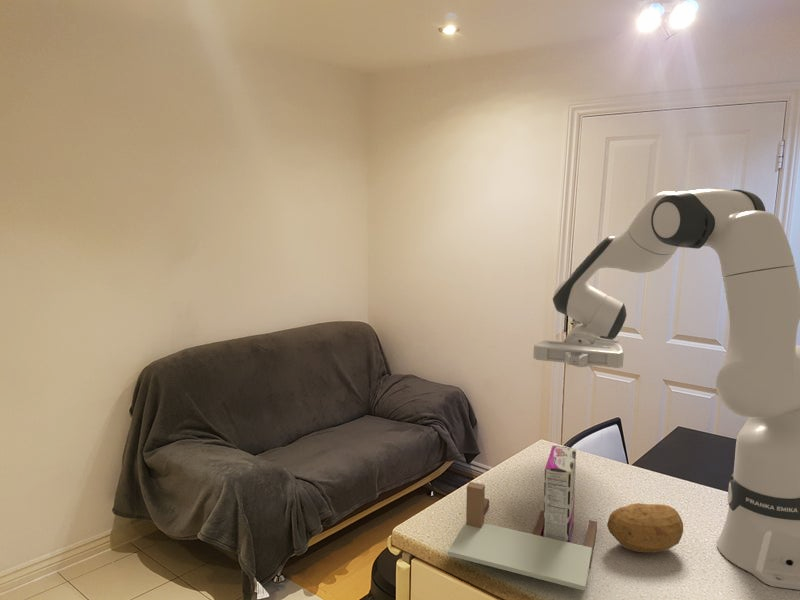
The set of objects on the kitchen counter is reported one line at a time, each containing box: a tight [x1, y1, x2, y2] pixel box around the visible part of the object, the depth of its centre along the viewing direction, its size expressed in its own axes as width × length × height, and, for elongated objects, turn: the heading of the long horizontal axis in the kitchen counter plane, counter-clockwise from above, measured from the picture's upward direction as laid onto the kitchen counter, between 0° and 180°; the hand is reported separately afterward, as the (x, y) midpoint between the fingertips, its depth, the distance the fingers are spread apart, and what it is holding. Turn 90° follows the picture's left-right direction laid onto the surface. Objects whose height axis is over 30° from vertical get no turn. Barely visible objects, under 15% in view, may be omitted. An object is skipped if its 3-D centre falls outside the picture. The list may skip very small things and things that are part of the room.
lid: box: [447, 481, 592, 592], centre depth 98 cm, size 24×12×9 cm, turn 66°
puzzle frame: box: [484, 497, 598, 569], centre depth 108 cm, size 24×13×2 cm, turn 66°
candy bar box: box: [543, 445, 577, 543], centre depth 107 cm, size 11×5×16 cm, turn 157°
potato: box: [606, 502, 684, 553], centre depth 103 cm, size 10×14×8 cm
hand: (574, 361), depth 123 cm, fingers closed
